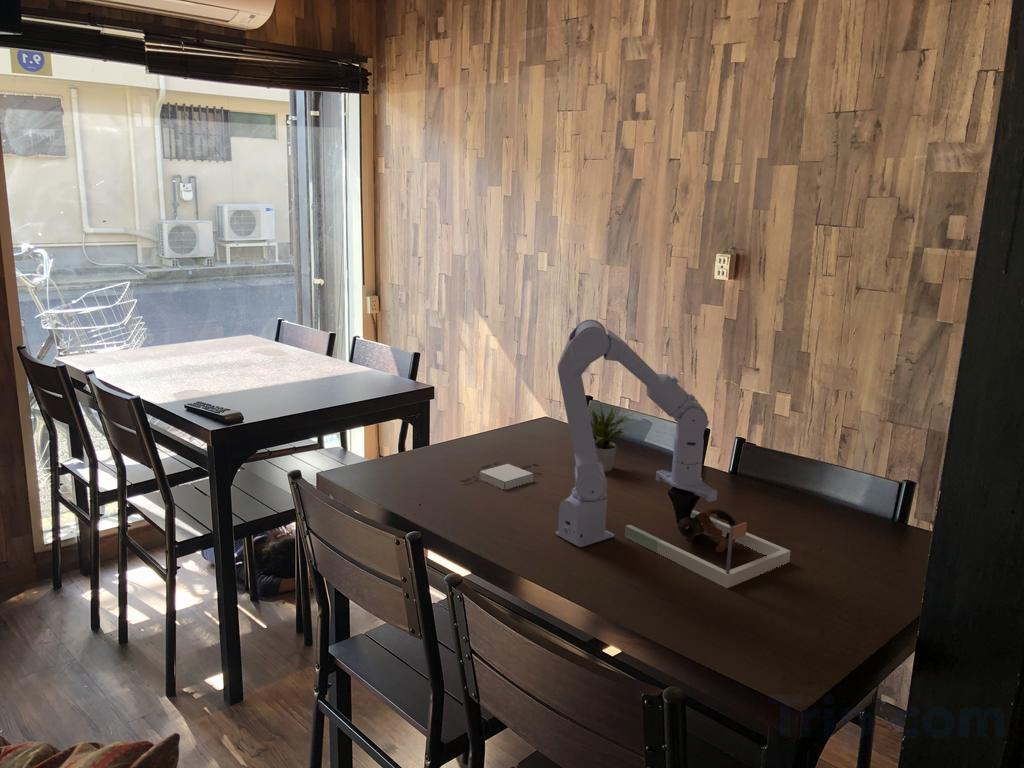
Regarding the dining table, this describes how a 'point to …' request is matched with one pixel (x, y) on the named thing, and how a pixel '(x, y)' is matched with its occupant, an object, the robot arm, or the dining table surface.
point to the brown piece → (707, 527)
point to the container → (505, 475)
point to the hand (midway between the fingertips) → (682, 523)
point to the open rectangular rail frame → (727, 577)
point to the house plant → (606, 437)
